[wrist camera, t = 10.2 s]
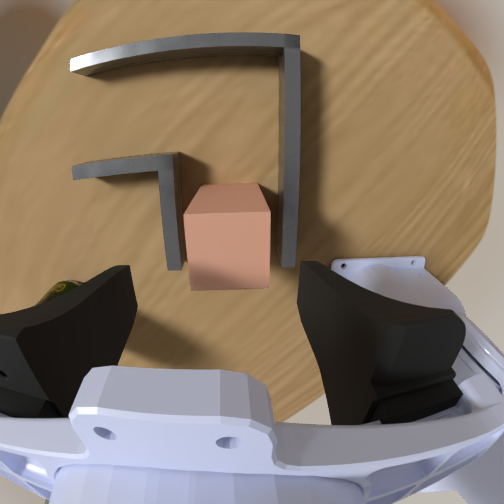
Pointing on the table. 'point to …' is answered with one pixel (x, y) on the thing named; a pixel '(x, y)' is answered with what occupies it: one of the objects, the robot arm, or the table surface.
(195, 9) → the table surface
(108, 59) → the channel rails
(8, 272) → the table surface
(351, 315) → the robot arm
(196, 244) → the terracotta block
